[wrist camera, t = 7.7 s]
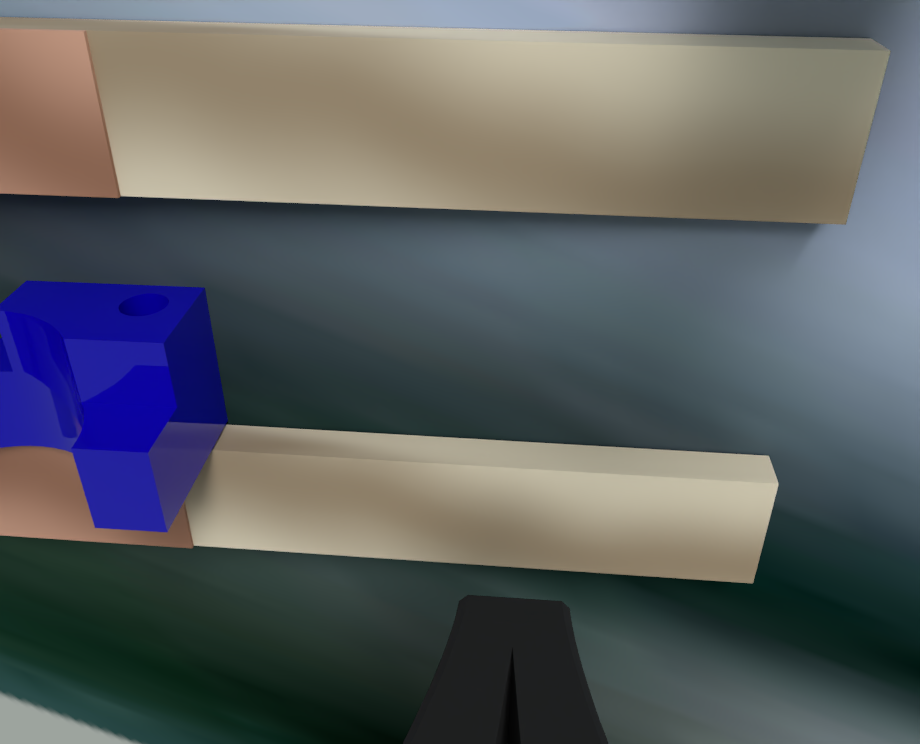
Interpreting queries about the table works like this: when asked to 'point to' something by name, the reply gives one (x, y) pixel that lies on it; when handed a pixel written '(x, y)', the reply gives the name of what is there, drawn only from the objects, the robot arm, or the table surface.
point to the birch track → (443, 187)
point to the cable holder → (114, 391)
